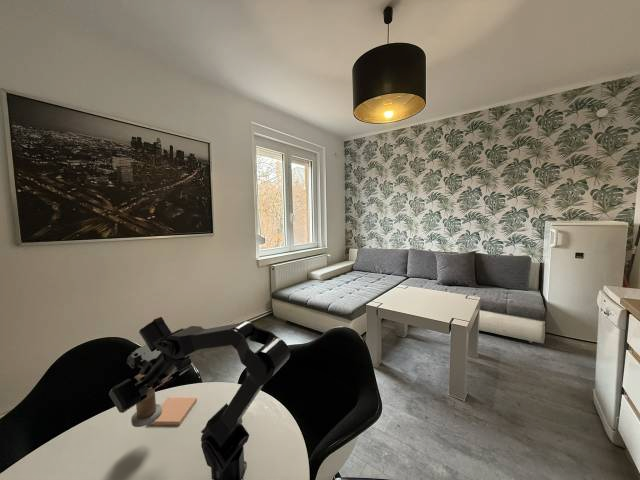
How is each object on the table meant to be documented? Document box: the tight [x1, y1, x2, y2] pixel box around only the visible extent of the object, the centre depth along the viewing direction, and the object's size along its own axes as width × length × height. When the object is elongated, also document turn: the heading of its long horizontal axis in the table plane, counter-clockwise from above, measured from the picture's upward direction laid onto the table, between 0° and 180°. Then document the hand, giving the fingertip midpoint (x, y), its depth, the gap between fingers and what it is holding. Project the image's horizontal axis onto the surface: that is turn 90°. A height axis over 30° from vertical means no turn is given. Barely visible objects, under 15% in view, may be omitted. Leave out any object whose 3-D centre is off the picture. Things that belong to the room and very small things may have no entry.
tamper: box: [130, 373, 162, 428], centre depth 69 cm, size 7×7×12 cm
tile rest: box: [147, 397, 198, 426], centre depth 80 cm, size 10×10×1 cm
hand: (142, 393), depth 69 cm, fingers closed on tamper, 4 cm apart
